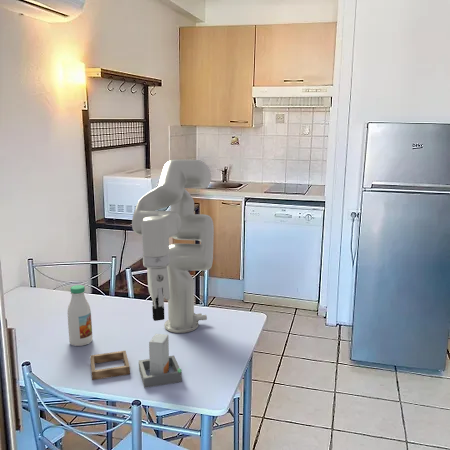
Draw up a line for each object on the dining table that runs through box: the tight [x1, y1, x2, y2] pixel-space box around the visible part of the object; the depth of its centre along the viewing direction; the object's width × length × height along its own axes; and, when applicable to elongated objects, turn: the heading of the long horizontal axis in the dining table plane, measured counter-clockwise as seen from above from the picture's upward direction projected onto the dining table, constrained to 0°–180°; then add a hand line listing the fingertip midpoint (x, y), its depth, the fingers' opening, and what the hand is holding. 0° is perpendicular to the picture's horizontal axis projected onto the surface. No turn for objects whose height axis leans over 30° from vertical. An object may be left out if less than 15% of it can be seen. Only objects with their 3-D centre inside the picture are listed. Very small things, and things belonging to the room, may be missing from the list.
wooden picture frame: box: [89, 350, 131, 381], centre depth 149 cm, size 11×11×2 cm
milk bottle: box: [67, 284, 93, 347], centre depth 165 cm, size 8×8×20 cm
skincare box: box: [148, 333, 170, 376], centre depth 144 cm, size 6×4×12 cm
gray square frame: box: [138, 355, 183, 389], centre depth 144 cm, size 11×11×4 cm
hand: (158, 319), depth 142 cm, fingers closed
